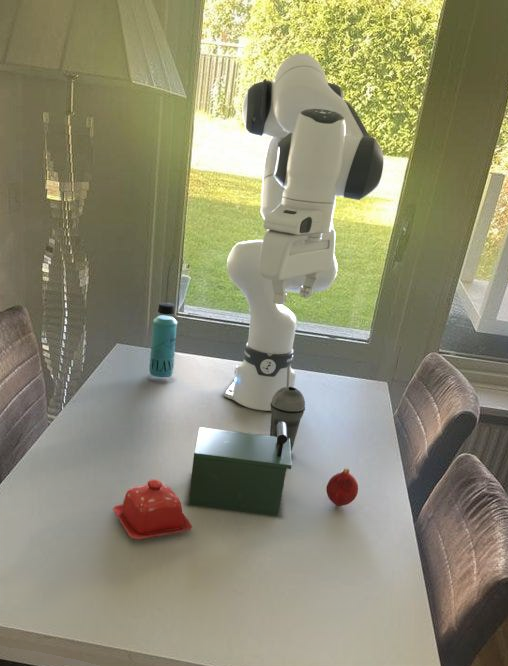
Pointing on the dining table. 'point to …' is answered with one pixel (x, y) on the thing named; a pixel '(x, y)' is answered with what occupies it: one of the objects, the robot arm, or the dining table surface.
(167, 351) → the beverage bottle
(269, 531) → the dining table surface
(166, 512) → the butter dish
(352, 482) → the onion
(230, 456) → the green box lid
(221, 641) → the dining table surface
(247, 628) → the dining table surface
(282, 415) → the beverage cup
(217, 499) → the green box
